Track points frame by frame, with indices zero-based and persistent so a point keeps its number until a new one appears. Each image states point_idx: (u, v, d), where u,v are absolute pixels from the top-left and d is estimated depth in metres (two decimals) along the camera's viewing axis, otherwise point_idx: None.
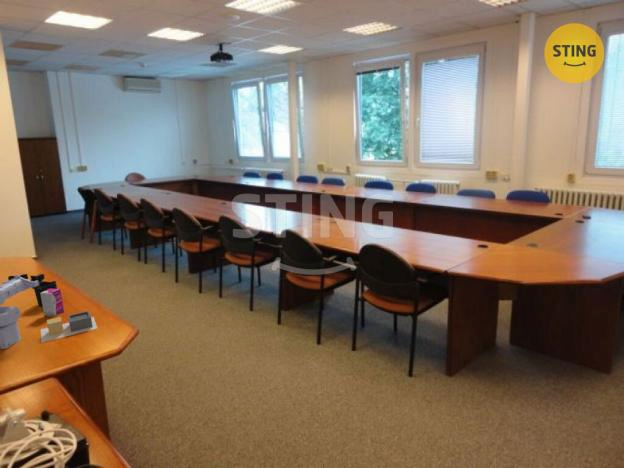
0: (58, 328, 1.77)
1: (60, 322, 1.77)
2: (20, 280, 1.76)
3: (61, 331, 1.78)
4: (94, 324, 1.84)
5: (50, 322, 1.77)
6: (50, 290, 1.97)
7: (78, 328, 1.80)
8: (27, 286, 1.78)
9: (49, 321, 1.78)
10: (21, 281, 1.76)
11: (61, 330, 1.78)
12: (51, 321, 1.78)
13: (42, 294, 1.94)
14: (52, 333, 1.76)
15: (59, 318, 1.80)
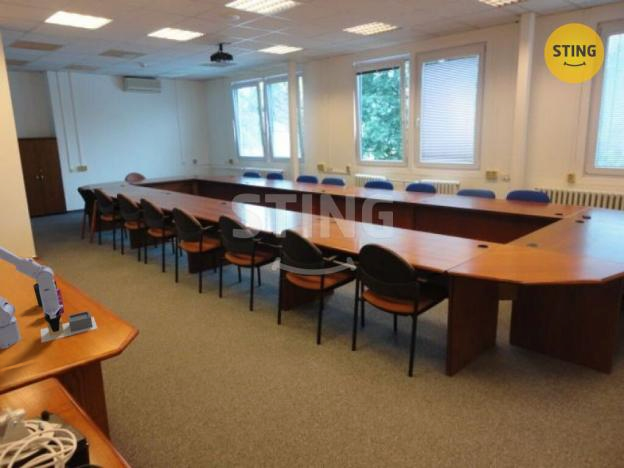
0: None
1: (60, 322, 1.77)
2: (57, 306, 1.76)
3: (61, 331, 1.78)
4: (94, 324, 1.84)
5: None
6: None
7: (78, 328, 1.80)
8: None
9: None
10: (56, 306, 1.76)
11: (61, 330, 1.78)
12: None
13: None
14: (52, 333, 1.76)
15: None
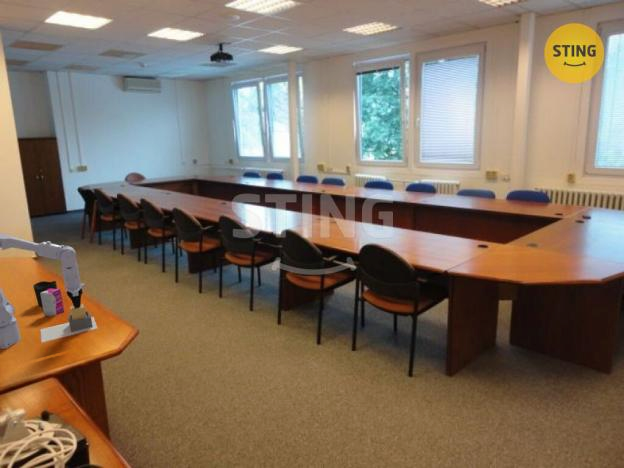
0: (81, 314, 1.81)
1: (83, 308, 1.81)
2: (79, 284, 1.79)
3: (83, 317, 1.82)
4: (94, 324, 1.84)
5: (74, 308, 1.80)
6: (50, 290, 1.97)
7: (78, 328, 1.80)
8: None
9: (72, 307, 1.81)
10: (78, 285, 1.78)
11: (84, 316, 1.82)
12: (74, 307, 1.81)
13: (42, 294, 1.94)
14: (75, 319, 1.80)
15: (82, 305, 1.83)
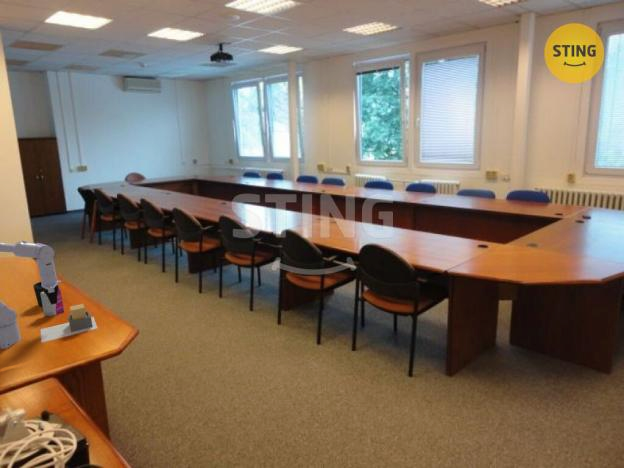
0: (81, 314, 1.81)
1: (83, 308, 1.81)
2: (55, 281, 1.81)
3: (83, 317, 1.82)
4: (94, 324, 1.84)
5: (74, 308, 1.80)
6: None
7: (78, 328, 1.80)
8: (47, 286, 1.79)
9: (72, 307, 1.81)
10: (54, 281, 1.81)
11: (84, 316, 1.82)
12: (74, 307, 1.81)
13: (42, 294, 1.94)
14: (75, 319, 1.80)
15: (82, 305, 1.83)
